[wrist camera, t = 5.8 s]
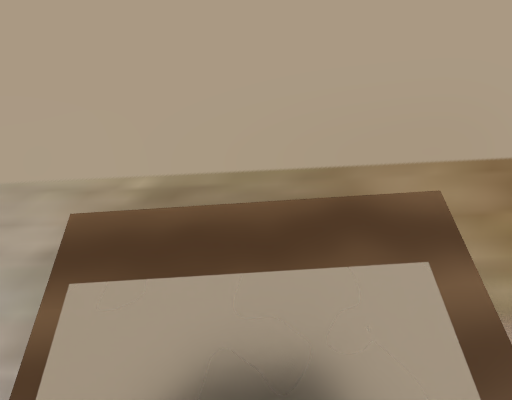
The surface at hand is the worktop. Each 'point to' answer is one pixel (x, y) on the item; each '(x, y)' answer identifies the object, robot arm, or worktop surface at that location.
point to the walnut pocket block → (278, 261)
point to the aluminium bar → (260, 338)
